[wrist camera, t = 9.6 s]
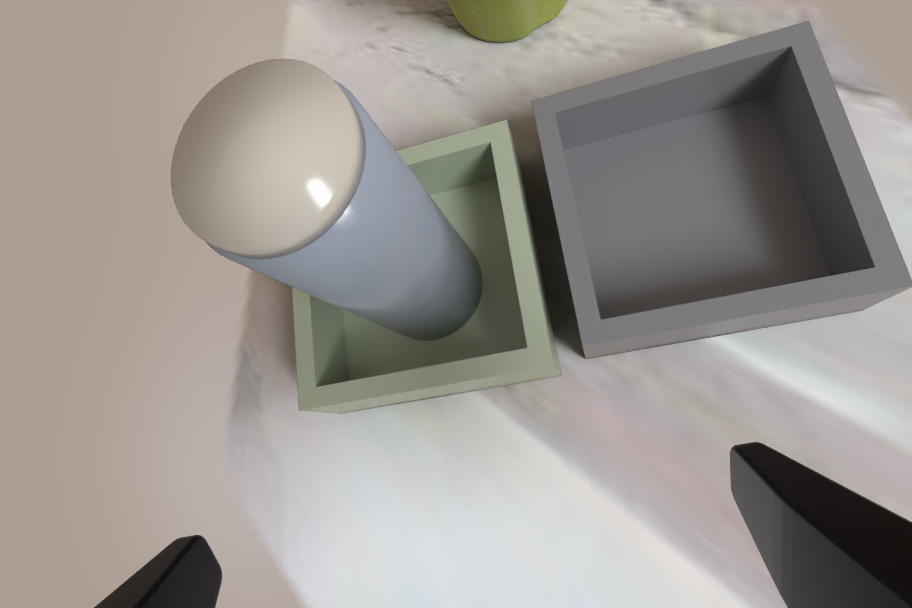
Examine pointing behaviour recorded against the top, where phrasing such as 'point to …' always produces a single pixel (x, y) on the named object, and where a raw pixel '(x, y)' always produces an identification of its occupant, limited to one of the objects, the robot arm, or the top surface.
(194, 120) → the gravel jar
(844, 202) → the charcoal bin
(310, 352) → the sage bin
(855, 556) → the robot arm
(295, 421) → the top surface
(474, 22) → the plant pot
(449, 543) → the top surface
